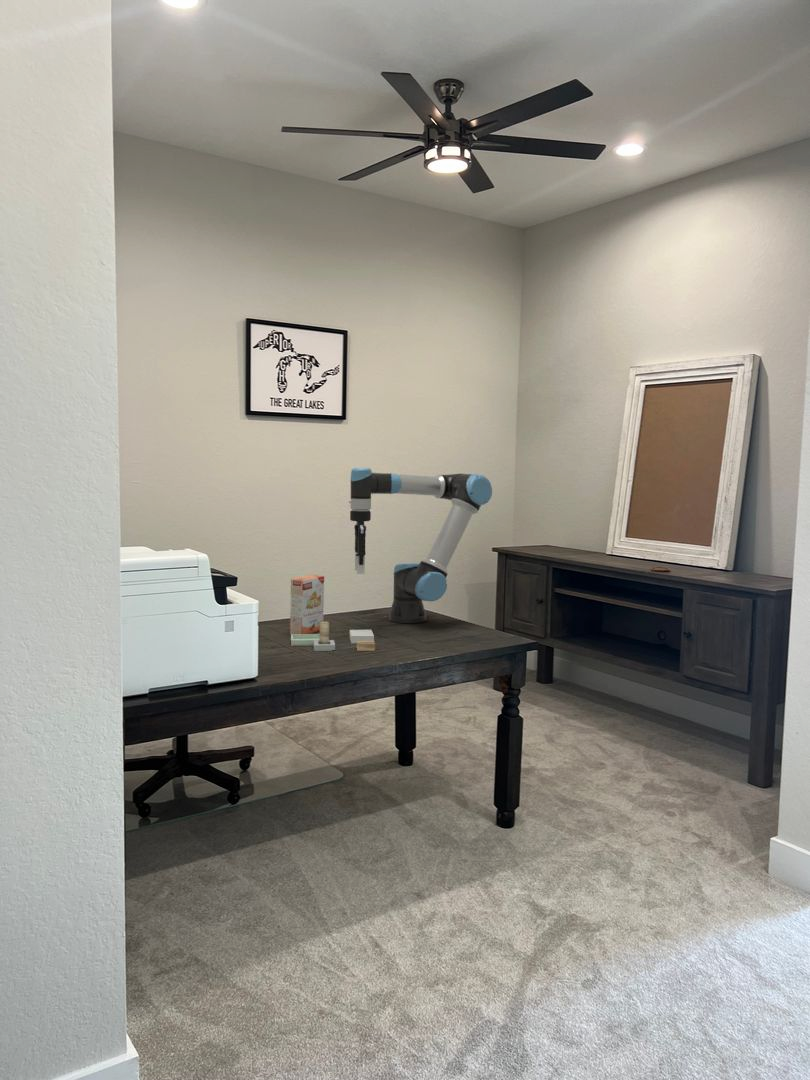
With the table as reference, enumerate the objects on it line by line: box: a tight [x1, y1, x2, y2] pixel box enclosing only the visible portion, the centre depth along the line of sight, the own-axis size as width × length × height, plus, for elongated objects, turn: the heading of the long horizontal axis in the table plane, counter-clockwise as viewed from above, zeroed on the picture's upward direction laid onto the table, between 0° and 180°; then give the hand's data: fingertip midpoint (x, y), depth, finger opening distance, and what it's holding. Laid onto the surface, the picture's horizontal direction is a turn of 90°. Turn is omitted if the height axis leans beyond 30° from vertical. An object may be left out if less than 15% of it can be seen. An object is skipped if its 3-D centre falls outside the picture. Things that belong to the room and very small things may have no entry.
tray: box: [290, 633, 320, 647], centre depth 274 cm, size 9×12×2 cm
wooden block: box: [355, 640, 376, 652], centre depth 267 cm, size 4×6×2 cm, turn 99°
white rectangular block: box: [349, 629, 375, 644], centre depth 280 cm, size 10×8×3 cm
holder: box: [312, 639, 336, 652], centre depth 267 cm, size 7×7×2 cm
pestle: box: [319, 621, 330, 644], centre depth 267 cm, size 3×3×9 cm
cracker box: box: [289, 574, 325, 635], centre depth 289 cm, size 14×6×21 cm, turn 152°
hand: (359, 571), depth 288 cm, fingers open, 7 cm apart
